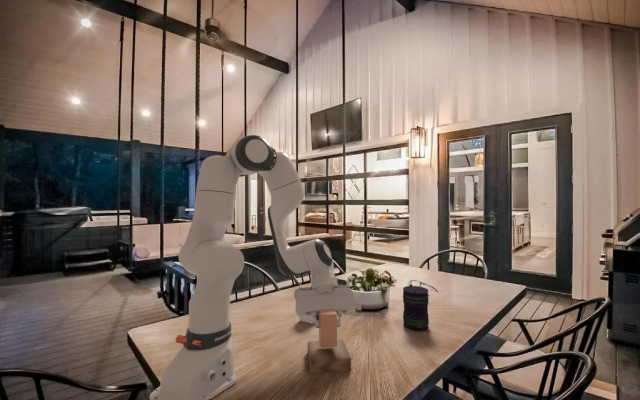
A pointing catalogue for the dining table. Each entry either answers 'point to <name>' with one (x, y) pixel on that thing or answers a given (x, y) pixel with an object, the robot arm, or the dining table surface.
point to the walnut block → (328, 357)
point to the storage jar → (415, 308)
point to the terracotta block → (328, 328)
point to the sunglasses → (420, 284)
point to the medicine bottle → (308, 319)
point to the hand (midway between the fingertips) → (328, 326)
